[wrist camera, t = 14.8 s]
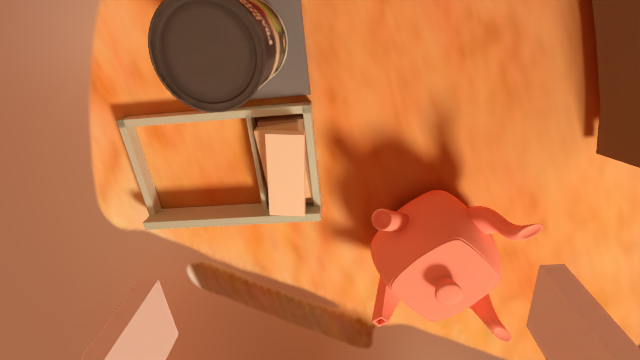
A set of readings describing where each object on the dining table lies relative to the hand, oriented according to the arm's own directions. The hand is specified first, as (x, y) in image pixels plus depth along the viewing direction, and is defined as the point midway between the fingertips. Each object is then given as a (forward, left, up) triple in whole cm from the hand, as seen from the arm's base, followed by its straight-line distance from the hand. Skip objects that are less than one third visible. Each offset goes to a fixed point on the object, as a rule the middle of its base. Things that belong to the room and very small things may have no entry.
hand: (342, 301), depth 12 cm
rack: (+9, -17, -37) cm, 41 cm away
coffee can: (-7, -11, -36) cm, 39 cm away
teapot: (+22, +12, -37) cm, 45 cm away
